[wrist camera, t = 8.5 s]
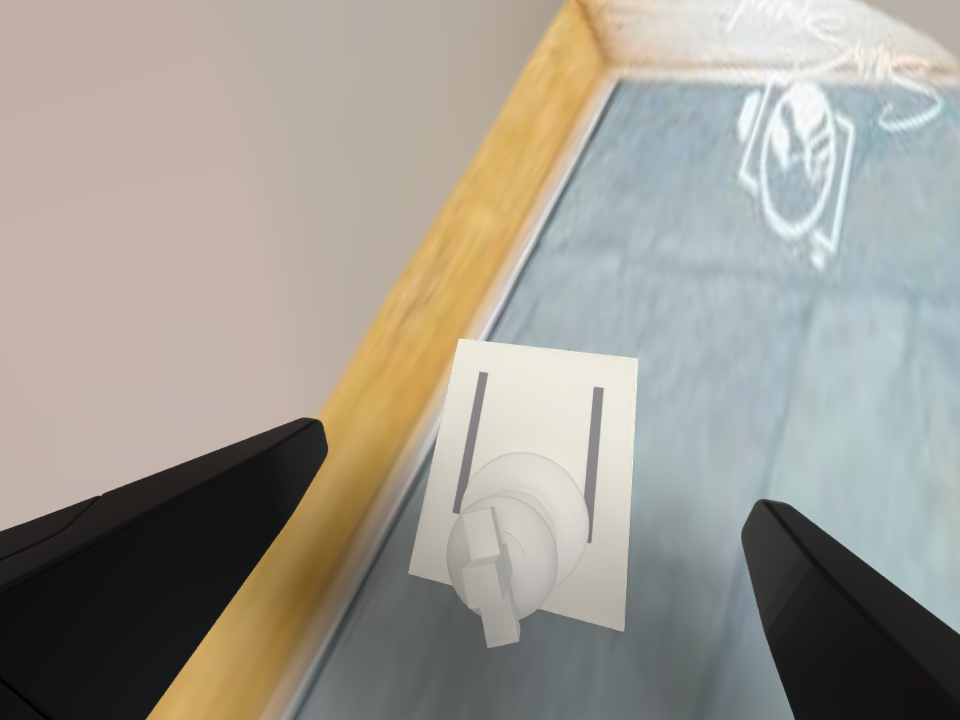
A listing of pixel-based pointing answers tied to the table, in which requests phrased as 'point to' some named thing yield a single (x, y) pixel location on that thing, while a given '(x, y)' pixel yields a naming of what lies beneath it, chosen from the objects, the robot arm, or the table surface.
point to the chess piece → (515, 540)
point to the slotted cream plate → (553, 434)
